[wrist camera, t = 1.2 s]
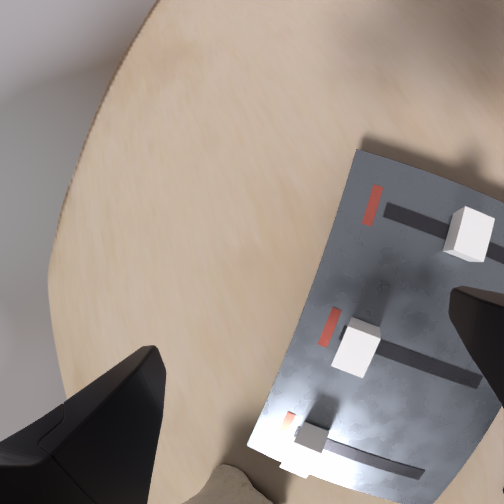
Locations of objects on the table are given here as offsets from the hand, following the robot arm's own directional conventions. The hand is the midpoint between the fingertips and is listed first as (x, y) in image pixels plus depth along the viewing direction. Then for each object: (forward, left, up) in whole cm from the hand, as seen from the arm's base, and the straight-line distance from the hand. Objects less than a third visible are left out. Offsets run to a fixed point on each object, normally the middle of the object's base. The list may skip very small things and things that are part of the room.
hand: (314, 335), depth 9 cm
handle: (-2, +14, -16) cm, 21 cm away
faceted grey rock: (+1, +26, -19) cm, 32 cm away
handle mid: (-2, +4, -16) cm, 17 cm away
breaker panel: (-7, +4, -18) cm, 20 cm away
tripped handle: (-7, -6, -16) cm, 19 cm away
